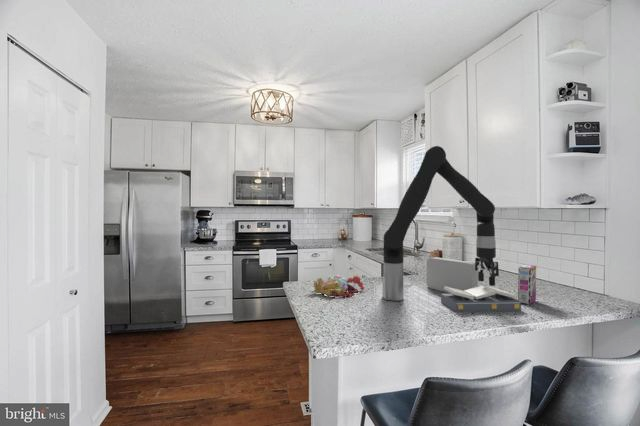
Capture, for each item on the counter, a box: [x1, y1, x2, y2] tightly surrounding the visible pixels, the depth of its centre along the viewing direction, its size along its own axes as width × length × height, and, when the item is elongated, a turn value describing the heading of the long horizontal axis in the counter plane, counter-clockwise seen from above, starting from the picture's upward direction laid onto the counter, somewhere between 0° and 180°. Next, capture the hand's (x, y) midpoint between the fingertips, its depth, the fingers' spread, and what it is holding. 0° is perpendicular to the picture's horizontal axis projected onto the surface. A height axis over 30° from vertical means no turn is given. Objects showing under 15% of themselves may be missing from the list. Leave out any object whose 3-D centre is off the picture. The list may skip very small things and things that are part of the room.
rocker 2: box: [464, 285, 496, 299], centre depth 140 cm, size 8×11×1 cm
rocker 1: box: [444, 286, 474, 299], centre depth 139 cm, size 8×11×1 cm
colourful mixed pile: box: [312, 274, 365, 299], centre depth 165 cm, size 25×24×9 cm
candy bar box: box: [517, 264, 537, 306], centre depth 147 cm, size 11×5×16 cm, turn 134°
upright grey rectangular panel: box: [426, 256, 479, 294], centre depth 166 cm, size 27×7×17 cm, turn 33°
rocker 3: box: [484, 285, 518, 300], centre depth 140 cm, size 8×11×1 cm
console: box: [440, 293, 522, 313], centre depth 140 cm, size 28×14×5 cm, turn 92°
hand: (486, 283), depth 140 cm, fingers open, 8 cm apart
